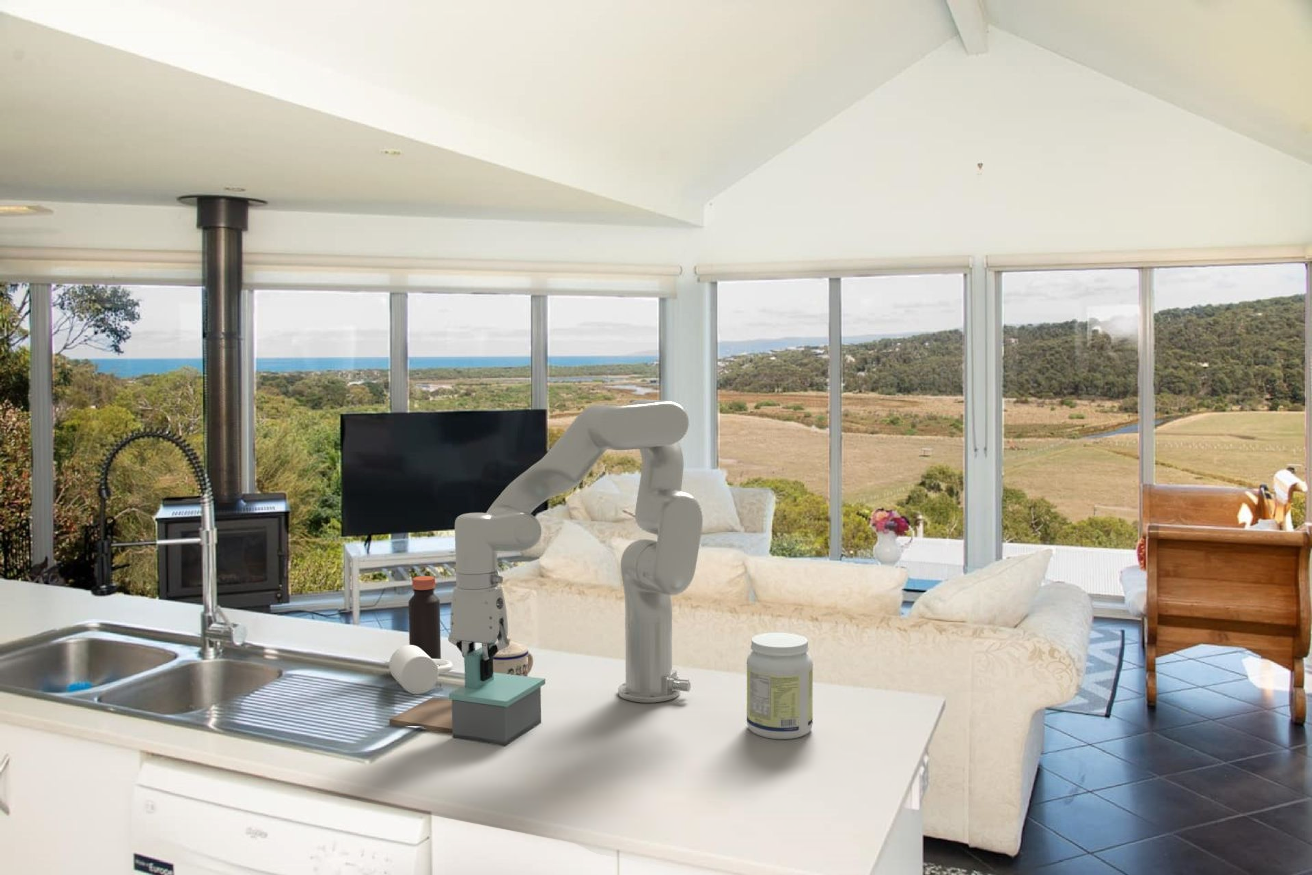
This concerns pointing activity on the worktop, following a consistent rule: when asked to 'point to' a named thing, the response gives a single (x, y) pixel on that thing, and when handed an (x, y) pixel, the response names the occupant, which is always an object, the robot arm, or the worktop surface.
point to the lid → (492, 685)
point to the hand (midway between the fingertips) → (479, 677)
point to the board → (428, 715)
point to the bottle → (425, 617)
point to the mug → (416, 669)
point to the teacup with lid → (513, 660)
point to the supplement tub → (779, 686)
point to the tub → (496, 719)
